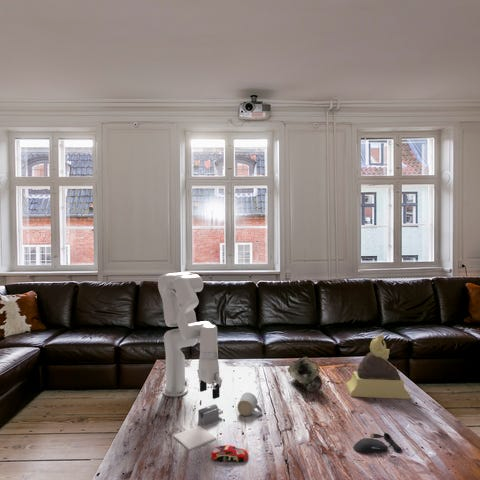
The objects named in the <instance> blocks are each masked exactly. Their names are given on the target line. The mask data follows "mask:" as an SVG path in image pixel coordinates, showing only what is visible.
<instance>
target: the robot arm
mask: <svg viewBox="0 0 480 480" xmlns="http://www.w3.org/2000/svg"><path fill="white" fill-rule="evenodd" d="M203 288H204V281H203V278H202V277H201V276H200V275H199V274H196V273H193V272H187V271H186V272H185V271H184V272H171V273H164V274H161V275H160V276H159V277H158V280H157V289H158V291H159V294H160V297H161V300H162V307H163V317H164V321H165V322H164V323H165V325H166V326H167V327H170V328H172V327H178V328H174V329H170V330H166V332H165V333H164V335H163V343H164V344H163V345H164V351H165V381H164V384H165V387H164V388H163V389H162V394H163V395H164V396H166V397H172V398H176V397H181V396H184V395H186V394H187V393H188V391H189V388H188V386H187V385H186V357H185V354H184V353H183V351H182V350H181V349H182V348H187V347H192V346H193V347H194V346H195V345H196V344H197V343H198V341H199V358H198V359H199V360H198V366H197V367H198V369H197V370H196V371H197V377H198V383H199V392H202V393H203V392H205V391H207V390H208V388H207V385H211V386H212V392H211V393H212V399H213V400H215V399H217V398H220V389H221V386H222V383H223V379H222V378H221V376H220V366H219V365H220V364H219V359H218V357H219V354H218V350H219V348H218V344H219V343H218V341H219V340H218V326H217V325H216V324H212V323H211V322H210V321H207V320H203V321H197V316H196V312H195V310H194V309H195V308H197V306H198V305H199V302H200V300H199V298H198V296H197V293H200V292H202V290H203Z"/></svg>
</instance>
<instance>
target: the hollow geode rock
mask: <svg viewBox="0 0 480 480" xmlns="http://www.w3.org/2000/svg"><path fill="white" fill-rule="evenodd" d="M287 372H288V373H289V375H290V377H293V378H294V379H295V380H296V381H297V382H298V383H300V384H302V385H303V387H304V388H305V389H306V391H307V392H309V393H311V394H315V393H317V391H319V390H320V389H322V386H323V379H321V377H320V376H319V375H320V369H319V365H318V363H316V362H314V361H311V360H310V359H309V358H308V356H302V357H301V358H299V359H297V360H296V361H294V362H292V364H290V365H289V367H288V369H287Z"/></svg>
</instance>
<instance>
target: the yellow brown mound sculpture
mask: <svg viewBox="0 0 480 480" xmlns="http://www.w3.org/2000/svg"><path fill="white" fill-rule="evenodd" d="M369 351H370V352H368V353H367V354H365V356H364V357H363V358H362V359H361V361H360V362H359V364H358V366H357V368H356V369H357V370H354V371H353V370H352V375H351V378H350V379H349V380H348V381H347V382H345V387H346V389H347V392H348V393H349V396H350V397H359V398H379V399H380V398H381V399H385V398H386V399H404V400H405V399H406V400H407V399H410V400H411V394H410V393H409V391H408V390H407V389H406V388H405V384H404V383H405V382H404V379H403V378H402V377H401V375H400V373H398V372H399V371H398V369H397V366H394V365H393V364H392V363H390V361H388V359H389V358H390V357H389V355H390V349H388V348H387V344H386V341H385V340H384V335H383V334H381V333H380V334H378V335H377V337H375V338H373V339H372V340H371V342H370V345H369Z"/></svg>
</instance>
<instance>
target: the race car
mask: <svg viewBox="0 0 480 480" xmlns="http://www.w3.org/2000/svg"><path fill="white" fill-rule="evenodd" d="M210 455H211V458H210V459H211V460H213V461H215V462H216V461H217V462H218V463H219V462H232V463H234V462H235V463H237V462H238V463H244V462H246V461H247V460H248V458H249V453H248V451H247V450H246V449H244V448H239V447H236V446H234V445H231V444H230V445H229V444H227V445H226V444H225V445H224V444H223V445H219V446H215V447H212V451H211V454H210Z"/></svg>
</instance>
